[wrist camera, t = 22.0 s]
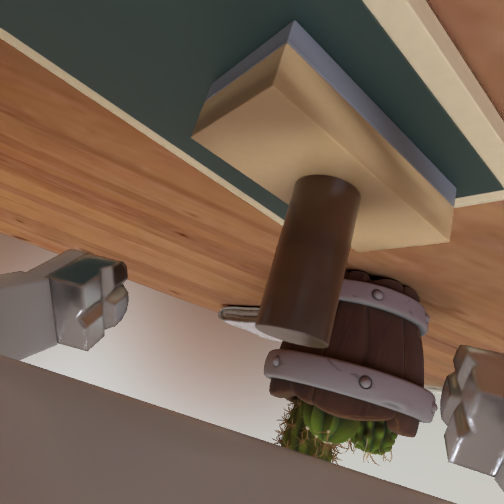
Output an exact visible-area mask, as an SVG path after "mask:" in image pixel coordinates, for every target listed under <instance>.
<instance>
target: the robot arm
mask: <svg viewBox="0 0 504 504" xmlns="http://www.w3.org/2000/svg"><path fill="white" fill-rule="evenodd" d="M127 278H128V274H127V266H126V265H125V264H124V262H122V261H118V260H114V259H110V258H107V257H103V256H99V255H95V254H91V253H89V252H84V251H79V250H74V249H69V250H67V251H65V252H63V253H61V254H60V255H58V256H56V257H54V258H52V259H50V260H48V261H46V262H45V263H43V264H41V265H39V266H37V267H35V268H33V269H31V270H29V271H28V272H22V271H18V272H12V273H6V274H1V275H0V504H456V503H453V502H450V501H447V500H443V499H441V498H438V497H434V496H431V495H428V494H425V493H422V492H419V491H416V490H413V489H410V488H407V487H404V486H401V485H398V484H395V483H391V482H388V481H386V480H382V479H379V478H376V477H373V476H370V475H367V474H364V473H361V472H358V471H355V470H352V469H349V468H345V467H343V466H340V465H336V464H334V463H330V462H327V461H324V460H321V459H318V458H315V457H312V456H309V455H306V454H303V453H300V452H297V451H294V450H291V449H288V448H285V447H282V446H278V445H275V444H272V443H269V442H266V441H263V440H260V439H257V438H254V437H251V436H248V435H244V434H242V433H238V432H236V431H233V430H229V429H226V428H223V427H220V426H217V425H214V424H211V423H208V422H205V421H202V420H199V419H195V418H193V417H190V416H187V415H184V414H180V413H178V412H174V411H171V410H168V409H165V408H162V407H159V406H156V405H153V404H150V403H147V402H144V401H141V400H138V399H135V398H132V397H129V396H126V395H123V394H120V393H116V392H113V391H110V390H107V389H104V388H101V387H98V386H95V385H92V384H89V383H86V382H83V381H80V380H77V379H74V378H71V377H68V376H65V375H61V374H58V373H55V372H52V371H49V370H46V369H43V368H40V367H37V366H34V365H31V364H28V363H25V362H22V361H19V360H21V359H24V358H26V357H28V356H31V355H33V354H36V353H38V352H40V351H43V350H45V349H47V348H50V347H52V346H55V345H57V343H59V344H63V345H67V346H70V347H74V348H78V349H81V350H85V351H88V350H89V349H90V348H92V347H93V346H94V345H95V344H96V343H97V342H98V341H99V340H100V339H101V338H103V337H104V330H105V329H107V328H111V327H114V326H116V325H117V324H118V323H119V322H120V321H121V320H122V318H123V316H124V314H125V313H126V310H127V306H128V301H129V300H128V292H127V290H126V288H125V287H124V285H123V283H124V282H125V281H126V280H127ZM453 362H454V367H455V372H453V373H451V374H450V375H448V376H447V377H446V380H445V383H444V386H443V389H442V395H441V403H440V404H441V405H440V406H441V408H440V409H441V418H442V420H443V421H444V422H445V424H446V425H447V426H448V427H447V429H446V432H445V435H444V438H445V444H446V450H447V456H448V461H449V462H451V463H454V464H457V465H460V466H463V467H466V468H469V469H472V470H475V471H478V472H481V473H484V474H487V475H490V476H493V477H495V481H496V482H497V483H498V485H499V486H500V487H501V489H502V490H503V491H504V354H503V353H498V352H494V351H489V350H485V349H480V348H476V347H471V346H467V345H460V346H459V348H458V349H457V351H456V354H455V356H454V359H453Z"/></svg>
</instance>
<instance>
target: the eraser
mask: <svg viewBox="0 0 504 504" xmlns="http://www.w3.org/2000/svg"><path fill="white" fill-rule="evenodd" d="M191 138H192V139H193V140H195V141H196V142H198V143H199V144H201V145H202V146H204V147H205V148H207V149H208V150H209V151H211V152H212V153H214V154H215V155H217V156H218V157H220V158H221V159H223V160H224V161H225V162H227V163H228V164H230V165H231V166H233V167H234V168H236V169H237V170H239V171H240V172H242V173H243V174H244V175H246V176H247V177H249V178H250V179H252V180H253V181H255V182H256V183H258V184H259V185H260V186H262V187H263V188H265V189H266V190H268V191H269V192H271V193H272V194H274V195H275V196H277V197H278V198H279V199H281V200H282V201H284V202H285V203H287V204H288V205H289V207H288V210H287V214H286V217H285V221H284V224H283V228H282V231H281V235H280V238H279V242H278V245H277V249H276V252H275V256H274V259H273V263H272V266H271V270H270V273H269V277H268V281H267V284H266V288H265V291H264V295H263V298H262V302H261V305H260V309H259V312H258V316H257V319H256V323H255V328H256V329H257V330H259V331H261V332H262V333H264V334H267V335H269V336H272V337H274V338H277V339H280V340H283V341H286V342H290V343H294V344H298V345H302V346H307V347H313V348H327V347H328V346H329V342H330V338H331V333H332V329H333V324H334V320H335V315H336V311H337V306H338V301H339V297H340V292H341V288H342V283H343V279H344V274H345V270H346V265H347V260H348V256H349V251H350V247H351V248H352V249H354V250H355V251H357V252H365V251H374V250H383V249H392V248H400V247H409V246H418V245H427V244H436V243H445V242H449V241H450V234H451V227H452V219H453V212H454V205H455V197H456V190H457V189H456V187H455V186H454V185H453V184H452V183H451V182H450V181H449V180H448V179H447V178H446V177H445V176H444V175H443V174H442V173H441V172H440V171H439V170H438V169H437V167H436V166H435V165H434V164H433V163H432V162H431V161H430V160H429V159H428V158H427V157H426V156H425V155H424V154H423V153H422V152H421V151H420V150H419V149H418V148H417V147H416V146H415V145H414V143H413V142H412V141H411V140H410V139H409V138H408V137H407V136H406V135H405V134H404V133H403V132H402V131H401V130H400V129H399V128H398V127H397V126H396V125H395V124H394V123H393V122H392V121H391V119H390V118H389V117H388V116H387V115H386V114H385V113H384V112H383V111H382V110H381V109H380V108H379V107H378V106H377V105H376V104H375V103H374V102H373V101H372V100H371V99H370V98H369V97H368V95H367V94H366V93H365V92H364V91H363V90H362V89H361V88H360V87H359V86H358V85H357V84H356V83H355V82H354V81H353V80H352V79H351V78H350V77H349V76H348V75H347V74H346V72H345V71H344V70H343V69H342V68H341V67H340V66H339V65H338V64H337V63H336V62H335V61H334V60H333V59H332V58H331V57H330V56H329V55H328V54H327V53H326V52H325V51H324V50H323V48H322V47H321V46H320V45H319V44H318V43H317V42H316V41H315V40H314V39H313V38H312V37H311V36H310V35H309V34H308V33H307V32H306V31H305V30H304V29H303V28H302V27H301V26H300V24H299V23H298V22H297V21H296V20H294V21H292V22H291V23H290V24H288V25H287V26H286V27H284V28H283V29H282V30H281V31H279V32H278V33H277V34H275V35H274V36H273V37H272V38H270V39H269V40H268V41H266V42H265V43H264V44H262V45H261V46H260V47H259V48H257V49H256V50H255V51H253V52H252V53H251V54H250V55H248V56H247V57H246V58H244V59H243V60H242V61H240V62H239V63H238V64H237V65H235V66H234V67H233V68H231V69H230V70H229V71H228V72H226V73H225V74H224V75H222V76H221V77H220V78H218V79H217V80H216V81H215V82H213V83H212V85H211V87H210V90H209V92H208V95H207V97H206V100H205V102H204V105H203V107H202V110H201V112H200V115H199V117H198V120H197V122H196V125H195V127H194V130H193V132H192V135H191Z"/></svg>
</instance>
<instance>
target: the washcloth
mask: <svg viewBox="0 0 504 504" xmlns="http://www.w3.org/2000/svg"><path fill="white" fill-rule="evenodd" d="M259 309H260V308H253V307H251V308H248V307H247V308H245V307H224V308H222V309H221V310H220V311H219V313H218V315H219V316H218V317H219V318H220V319H221V320H223V321H224V322H226V323H229V324H231V325H233V326H236V327H239V328H243V329H245V330H248V331H250V332H252V333H255V334H256V335H258V336H261V337H264V338H266V339H269V340H276V341H283V340H280V339H277V338H274V337H272V336H269V335H267V334H264V333H262V332H261V331H259V330H257V329H256V328H255V323H256V319H257V316H258V312H259Z"/></svg>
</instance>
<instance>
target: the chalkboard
mask: <svg viewBox="0 0 504 504" xmlns="http://www.w3.org/2000/svg"><path fill="white" fill-rule="evenodd" d="M294 20H296V21H297V22H298V23H299V24H300V26H301V27H302V28H303V29H304V30H305V31H306V32H307V33H308V34H309V35H310V36H311V37H312V38H313V39H314V40H315V41H316V42H317V43H318V44H319V45H320V46H321V47H322V48H323V50H324V51H325V52H326V53H327V54H328V55H329V56H330V57H331V58H332V59H333V60H334V61H335V62H336V63H337V64H338V65H339V66H340V67H341V68H342V69H343V70H344V71H345V72H346V74H347V75H348V76H349V77H350V78H351V79H352V80H353V81H354V82H355V83H356V84H357V85H358V86H359V87H360V88H361V89H362V90H363V91H364V92H365V93H366V94H367V95H368V97H369V98H370V99H371V100H372V101H373V102H374V103H375V104H376V105H377V106H378V107H379V108H380V109H381V110H382V111H383V112H384V113H385V114H386V115H387V116H388V117H389V118H390V119H391V121H392V122H393V123H394V124H395V125H396V126H397V127H398V128H399V129H400V130H401V131H402V132H403V133H404V134H405V135H406V136H407V137H408V138H409V139H410V140H411V141H412V142H413V143H414V145H415V146H416V147H417V148H418V149H419V150H420V151H421V152H422V153H423V154H424V155H425V156H426V157H427V158H428V159H429V160H430V161H431V162H432V163H433V164H434V165H435V166H436V167H437V169H438V170H439V171H440V172H441V173H442V174H443V175H444V176H445V177H446V178H447V179H448V180H449V181H450V182H451V183H452V184H453V185H454V186H455V187H456V189H457V190H456V197H455V205H454V208H456V207H463V206H469V205H475V204H481V203H487V202H494V201H500V200H504V122H503V120H502V118H501V117H500V115H499V114H498V112H497V111H496V109H495V108H494V106H493V104H492V103H491V101H490V100H489V98H488V97H487V95H486V94H485V92H484V90H483V89H482V87H481V86H480V84H479V83H478V81H477V80H476V78H475V76H474V75H473V73H472V72H471V70H470V69H469V67H468V66H467V64H466V62H465V61H464V59H463V58H462V56H461V55H460V53H459V51H458V50H457V48H456V47H455V45H454V44H453V42H452V41H451V39H450V37H449V36H448V34H447V33H446V31H445V30H444V28H443V27H442V25H441V23H440V22H439V20H438V19H437V17H436V16H435V14H434V13H433V11H432V9H431V8H430V6H429V5H428V3H427V2H426V0H0V38H1V39H2V40H4V41H5V42H7V43H8V44H10V45H11V46H13V47H14V48H16V49H17V50H19V51H20V52H22V53H23V54H25V55H26V56H28V57H29V58H31V59H32V60H34V61H35V62H37V63H38V64H40V65H41V66H43V67H44V68H46V69H47V70H49V71H50V72H52V73H53V74H55V75H56V76H58V77H59V78H61V79H62V80H64V81H65V82H67V83H69V84H70V85H72V86H73V87H75V88H76V89H78V90H79V91H81V92H82V93H84V94H85V95H87V96H88V97H90V98H91V99H93V100H94V101H96V102H97V103H99V104H100V105H102V106H103V107H105V108H106V109H108V110H109V111H111V112H112V113H114V114H115V115H117V116H118V117H120V118H121V119H123V120H124V121H126V122H127V123H129V124H130V125H132V126H133V127H135V128H136V129H138V130H139V131H141V132H142V133H144V134H145V135H147V136H148V137H150V138H151V139H153V140H154V141H156V142H157V143H159V144H160V145H162V146H163V147H165V148H166V149H168V150H169V151H171V152H172V153H174V154H175V155H177V156H178V157H180V158H181V159H183V160H184V161H186V162H187V163H189V164H190V165H192V166H193V167H195V168H196V169H198V170H199V171H201V172H202V173H204V174H205V175H207V176H208V177H210V178H211V179H213V180H214V181H216V182H217V183H219V184H220V185H222V186H223V187H225V188H226V189H228V190H229V191H231V192H232V193H234V194H235V195H237V196H238V197H240V198H241V199H243V200H244V201H246V202H247V203H249V204H250V205H252V206H253V207H255V208H256V209H258V210H259V211H261V212H262V213H264V214H265V215H267V216H268V217H270V218H271V219H273V220H274V221H276V222H277V223H279V224H280V225H282V226H283V224H284V221H285V217H286V214H287V210H288V207H289V205H288V204H287V203H285V202H284V201H282V200H281V199H279V198H278V197H277V196H275V195H274V194H272V193H271V192H269V191H268V190H266V189H265V188H263V187H262V186H260V185H259V184H258V183H256V182H255V181H253V180H252V179H250V178H249V177H247V176H246V175H244V174H243V173H242V172H240V171H239V170H237V169H236V168H234V167H233V166H231V165H230V164H228V163H227V162H225V161H224V160H223V159H221V158H220V157H218V156H217V155H215V154H214V153H212V152H211V151H209V150H208V149H207V148H205V147H204V146H202V145H201V144H199V143H198V142H196V141H195V140H193V139H192V138H191V135H192V132H193V130H194V127H195V125H196V122H197V120H198V117H199V115H200V112H201V110H202V107H203V105H204V102H205V100H206V97H207V95H208V92H209V90H210V87H211V85H212V83H213V82H215V81H216V80H217V79H218V78H220V77H221V76H222V75H224V74H225V73H226V72H228V71H229V70H230V69H231V68H233V67H234V66H235V65H237V64H238V63H239V62H240V61H242V60H243V59H244V58H246V57H247V56H248V55H250V54H251V53H252V52H253V51H255V50H256V49H257V48H259V47H260V46H261V45H262V44H264V43H265V42H266V41H268V40H269V39H270V38H272V37H273V36H274V35H275V34H277V33H278V32H279V31H281V30H282V29H283V28H284V27H286V26H287V25H288V24H290V23H291V22H292V21H294Z"/></svg>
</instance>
